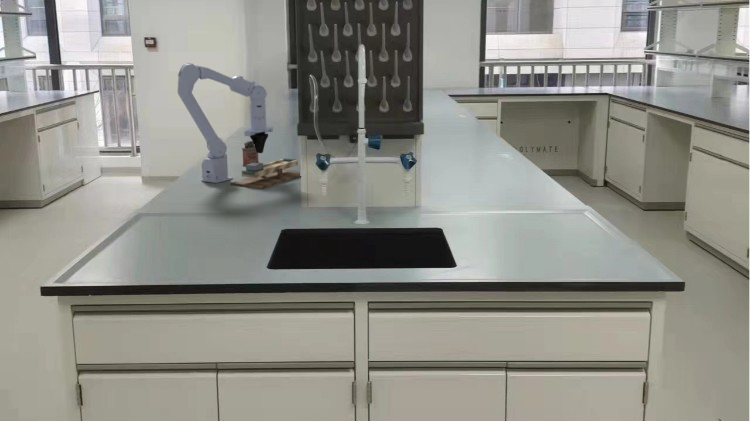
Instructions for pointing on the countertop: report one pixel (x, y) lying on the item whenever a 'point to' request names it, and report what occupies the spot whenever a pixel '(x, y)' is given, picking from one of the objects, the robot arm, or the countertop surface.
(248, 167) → the grey block
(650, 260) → the countertop surface
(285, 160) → the beam
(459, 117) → the countertop surface
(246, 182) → the stand
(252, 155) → the red tin
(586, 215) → the countertop surface
